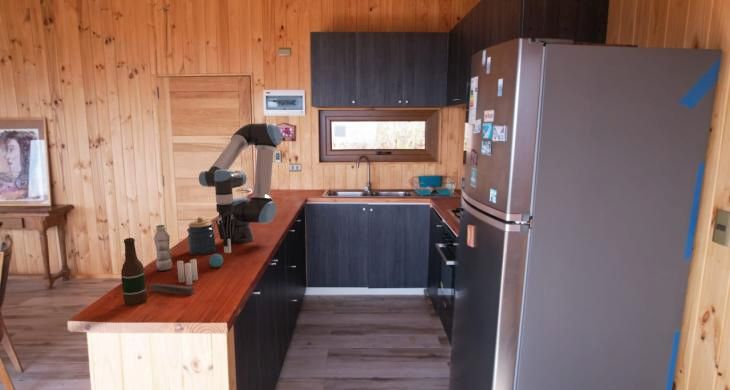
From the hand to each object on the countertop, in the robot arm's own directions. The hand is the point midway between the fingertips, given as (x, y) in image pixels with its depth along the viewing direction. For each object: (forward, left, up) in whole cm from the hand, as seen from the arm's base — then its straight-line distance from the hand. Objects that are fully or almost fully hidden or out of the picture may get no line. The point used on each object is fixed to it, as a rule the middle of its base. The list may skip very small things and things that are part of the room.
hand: (227, 252), depth 208 cm
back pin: (+29, -4, -4) cm, 29 cm away
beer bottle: (+51, -7, -4) cm, 51 cm away
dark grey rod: (+40, 0, -4) cm, 40 cm away
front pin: (+26, 0, -4) cm, 26 cm away
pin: (+31, +1, -4) cm, 31 cm away
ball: (+10, 0, -1) cm, 10 cm away
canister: (-10, -21, -4) cm, 24 cm away
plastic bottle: (+18, -21, -4) cm, 28 cm away
